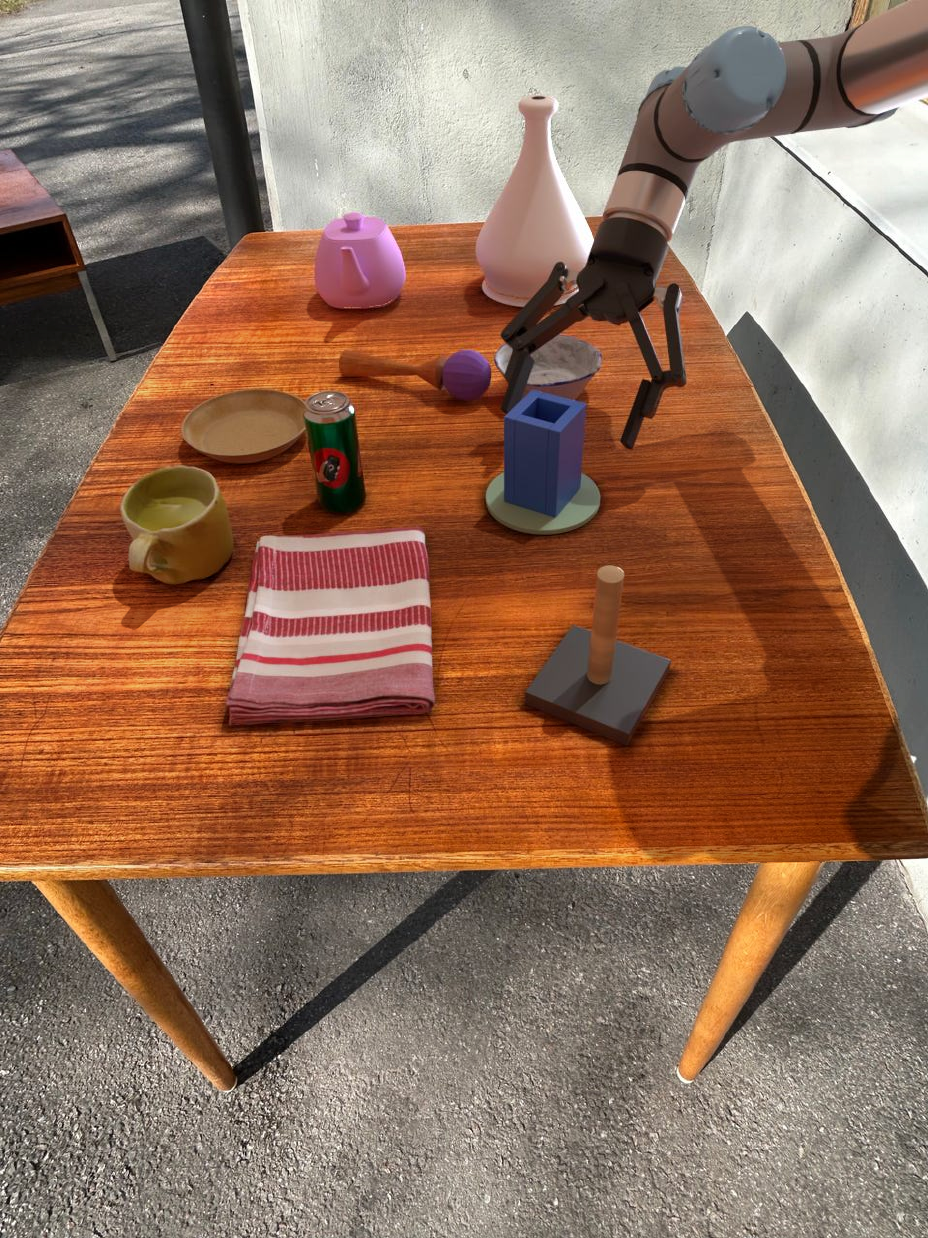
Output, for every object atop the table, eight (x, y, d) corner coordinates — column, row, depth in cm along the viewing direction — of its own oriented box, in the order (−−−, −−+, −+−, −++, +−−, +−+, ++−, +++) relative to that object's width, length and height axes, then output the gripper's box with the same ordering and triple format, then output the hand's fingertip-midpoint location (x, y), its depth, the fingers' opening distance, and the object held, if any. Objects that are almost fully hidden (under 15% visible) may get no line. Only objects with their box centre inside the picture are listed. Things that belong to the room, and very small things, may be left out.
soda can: (374, 505, 92) (362, 404, 83) (331, 522, 90) (314, 420, 82) (353, 483, 95) (339, 383, 87) (311, 498, 93) (292, 397, 85)
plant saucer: (300, 397, 109) (297, 378, 107) (325, 458, 99) (322, 438, 97) (181, 420, 106) (175, 401, 104) (193, 486, 95) (187, 465, 94)
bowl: (561, 357, 114) (563, 322, 111) (619, 399, 106) (623, 363, 103) (475, 383, 110) (475, 347, 107) (529, 429, 102) (530, 392, 98)
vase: (609, 300, 126) (626, 106, 109) (495, 317, 124) (493, 120, 106) (568, 257, 139) (577, 76, 122) (463, 271, 136) (457, 88, 119)
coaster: (611, 478, 94) (612, 473, 94) (583, 544, 86) (583, 540, 86) (506, 459, 97) (506, 455, 97) (469, 521, 89) (469, 517, 89)
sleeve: (530, 472, 94) (532, 389, 87) (580, 487, 92) (586, 403, 85) (503, 501, 91) (503, 416, 84) (555, 517, 88) (560, 432, 81)
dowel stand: (571, 636, 77) (580, 523, 68) (669, 672, 73) (691, 557, 65) (524, 704, 71) (527, 590, 63) (627, 746, 68) (645, 632, 59)
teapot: (325, 274, 137) (314, 195, 129) (409, 271, 136) (403, 192, 128) (308, 331, 122) (294, 246, 114) (403, 328, 122) (396, 242, 114)
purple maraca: (355, 334, 112) (498, 346, 105) (359, 379, 115) (499, 394, 108) (331, 345, 108) (479, 359, 101) (336, 392, 111) (480, 409, 104)
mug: (171, 497, 91) (158, 435, 82) (256, 542, 90) (252, 484, 81) (95, 583, 85) (72, 526, 76) (185, 632, 84) (172, 580, 75)
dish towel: (227, 730, 70) (220, 709, 68) (260, 548, 87) (255, 527, 85) (436, 717, 70) (434, 695, 69) (428, 538, 87) (426, 517, 86)
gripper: (758, 269, 88) (685, 469, 89) (537, 231, 97) (474, 411, 99) (753, 233, 81) (674, 450, 82) (516, 195, 91) (448, 390, 92)
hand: (564, 429), depth 90 cm, fingers open, 13 cm apart
